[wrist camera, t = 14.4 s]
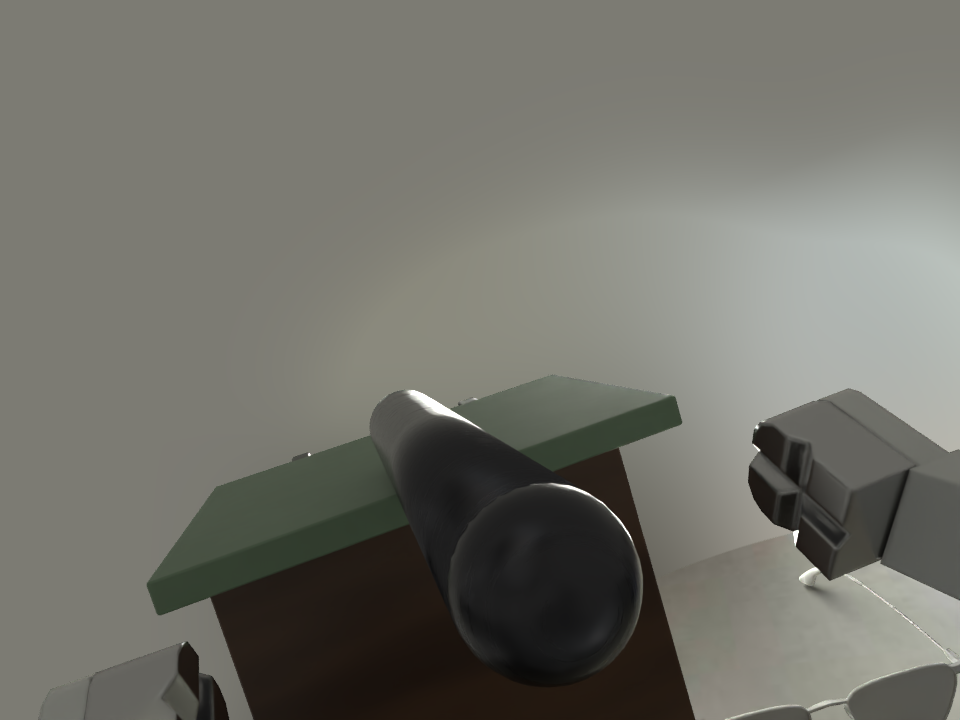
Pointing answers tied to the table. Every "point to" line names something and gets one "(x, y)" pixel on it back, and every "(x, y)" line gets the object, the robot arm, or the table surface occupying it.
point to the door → (456, 520)
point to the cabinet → (427, 638)
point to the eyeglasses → (884, 689)
